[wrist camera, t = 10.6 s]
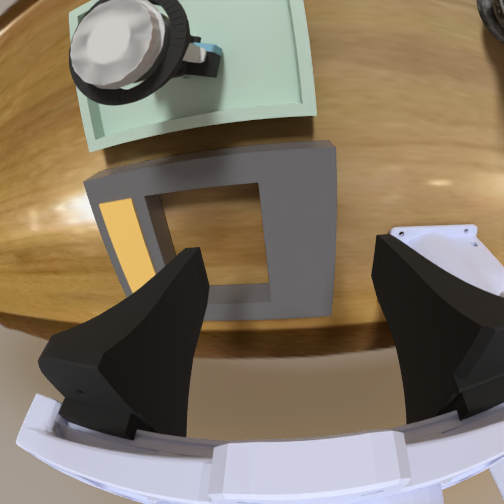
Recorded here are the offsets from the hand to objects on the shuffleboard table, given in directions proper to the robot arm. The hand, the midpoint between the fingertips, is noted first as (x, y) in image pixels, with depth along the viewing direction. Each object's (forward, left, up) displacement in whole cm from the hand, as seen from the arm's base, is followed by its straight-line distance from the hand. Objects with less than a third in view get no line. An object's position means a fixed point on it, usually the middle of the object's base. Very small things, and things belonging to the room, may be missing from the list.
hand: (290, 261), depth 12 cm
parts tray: (+6, -11, -10) cm, 16 cm away
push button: (+6, -10, -10) cm, 15 cm away
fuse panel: (+6, +4, -10) cm, 13 cm away
